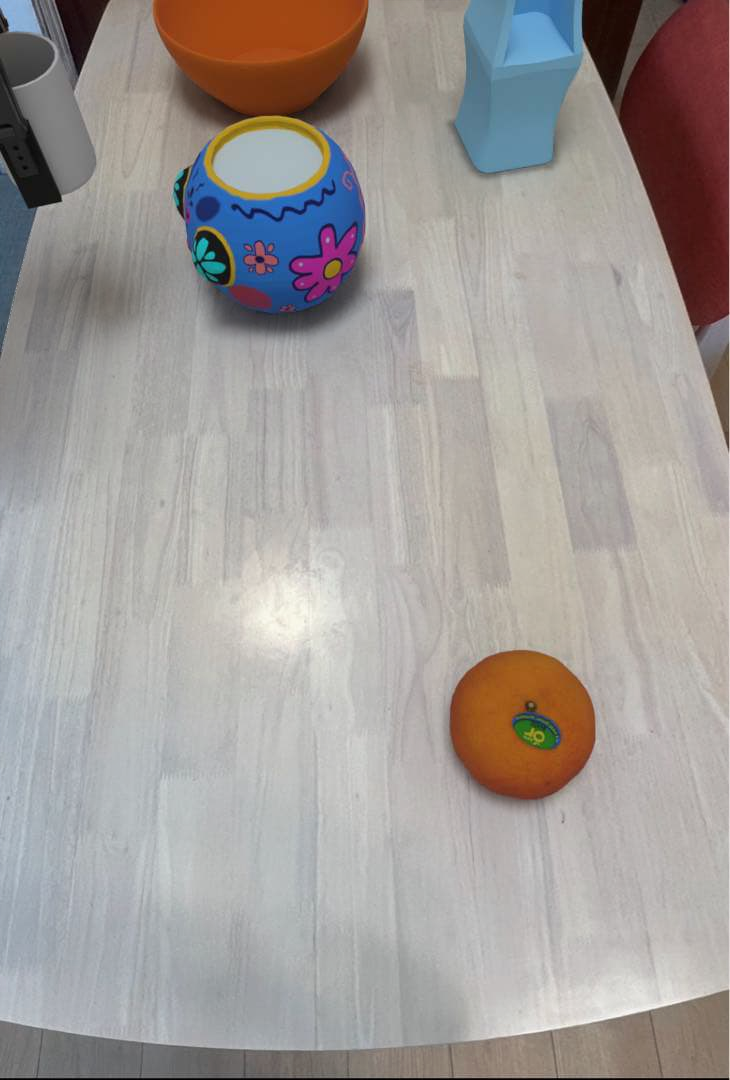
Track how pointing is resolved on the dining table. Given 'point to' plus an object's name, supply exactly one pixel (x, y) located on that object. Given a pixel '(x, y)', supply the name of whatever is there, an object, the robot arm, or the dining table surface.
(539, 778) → the fruit
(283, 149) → the ceramic pot
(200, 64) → the bowl
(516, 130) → the vase
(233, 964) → the dining table surface
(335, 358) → the dining table surface
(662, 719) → the dining table surface
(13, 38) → the cup
